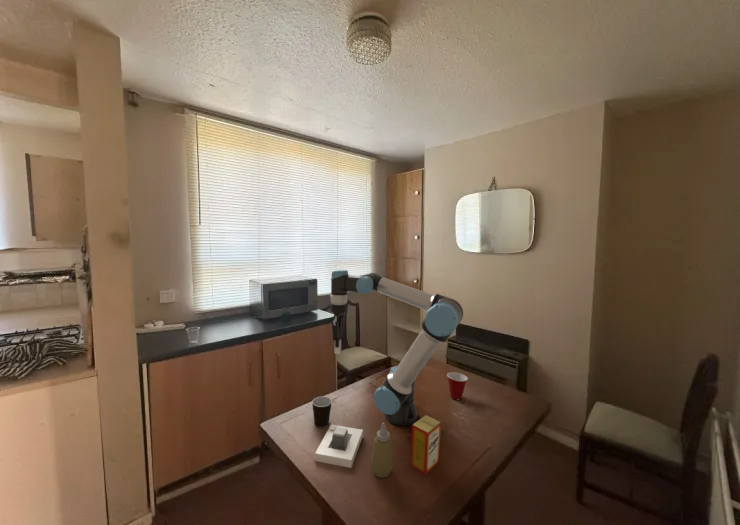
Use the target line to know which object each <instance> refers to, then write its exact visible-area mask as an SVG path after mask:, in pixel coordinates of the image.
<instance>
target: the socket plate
mask: <svg viewBox="0 0 740 525" xmlns="http://www.w3.org/2000/svg"><path fill="white" fill-rule="evenodd" d="M336 427H340V428H346V429H347V430H348V445H347V447H346V449H345V451H343V450H338V449H332V435H333V433H334V431H335V429H336ZM363 437H364V430H363V429H362V428H361V429H359V428H354V427H347V426H342V425H337V424H330V426H329V427H328V429H327V431H326V433H325V435H324V437H323V439H322V440H321V442H320V444H319V445H318V448H317V449H316V451H315V453H314V461H315V462H319V463H324V464H327V465H328V464H329V465H335V466H340V467H344V468H350V469H351V468H352V467H353V465H354V461H355V458H356V456H357V453H358V451H359V447H360V445H361V442H362V440H363Z"/></svg>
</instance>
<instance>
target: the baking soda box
mask: <svg viewBox="0 0 740 525" xmlns="http://www.w3.org/2000/svg"><path fill="white" fill-rule="evenodd" d="M411 426H412V427H411V441H410V442H411V443H410V465H409V466H410V467H412V468H414V469H416V470H417V471H418V472H420V473H421V474H423V475H424V476H426V475H427V474H428V473H429V472H430V471H431V470H432V469H434V467H435V466H436V465H437V464H438V463H439V462H440V455H441V454H440V453H441V452H440V451H441V437H442V436H441V435H442V434H441V432H442V421H440V420H438V419H437V418H434V417H432V416H430V415H428V414H425V415H424V416H423V417H421V418H420V419H417V420H416V421H415V422H414V423H413V424H411Z"/></svg>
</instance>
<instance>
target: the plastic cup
mask: <svg viewBox="0 0 740 525" xmlns="http://www.w3.org/2000/svg"><path fill="white" fill-rule="evenodd" d="M446 377H447V380H448V389H449V390H448V391H449V397H450V396H451V397H452V398H453V399H452V398H451V397H450V398H451V399H452V400H454V399H461V400H462V398H463V394H464V390H465V387H466V384H467V381H468V376H466V375H465V374H462V373H459V372H448V373H447V374H446Z"/></svg>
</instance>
